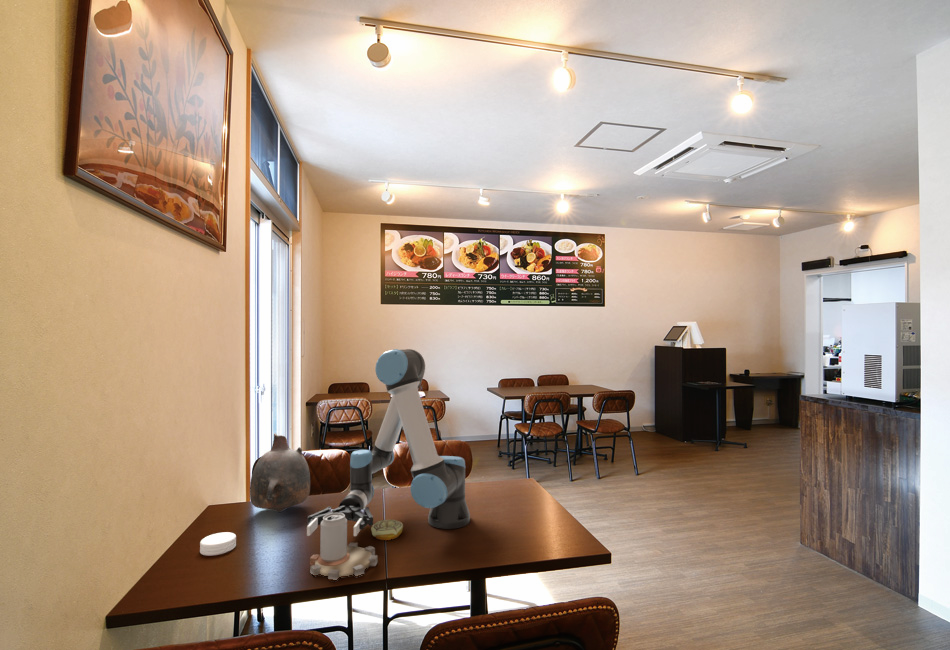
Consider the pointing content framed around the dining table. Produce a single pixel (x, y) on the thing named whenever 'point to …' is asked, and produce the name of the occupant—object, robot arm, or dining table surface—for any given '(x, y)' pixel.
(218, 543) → the white thick disc
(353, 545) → the sprocket wheel
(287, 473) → the jug
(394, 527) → the decorated donut
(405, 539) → the dining table surface
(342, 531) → the can
